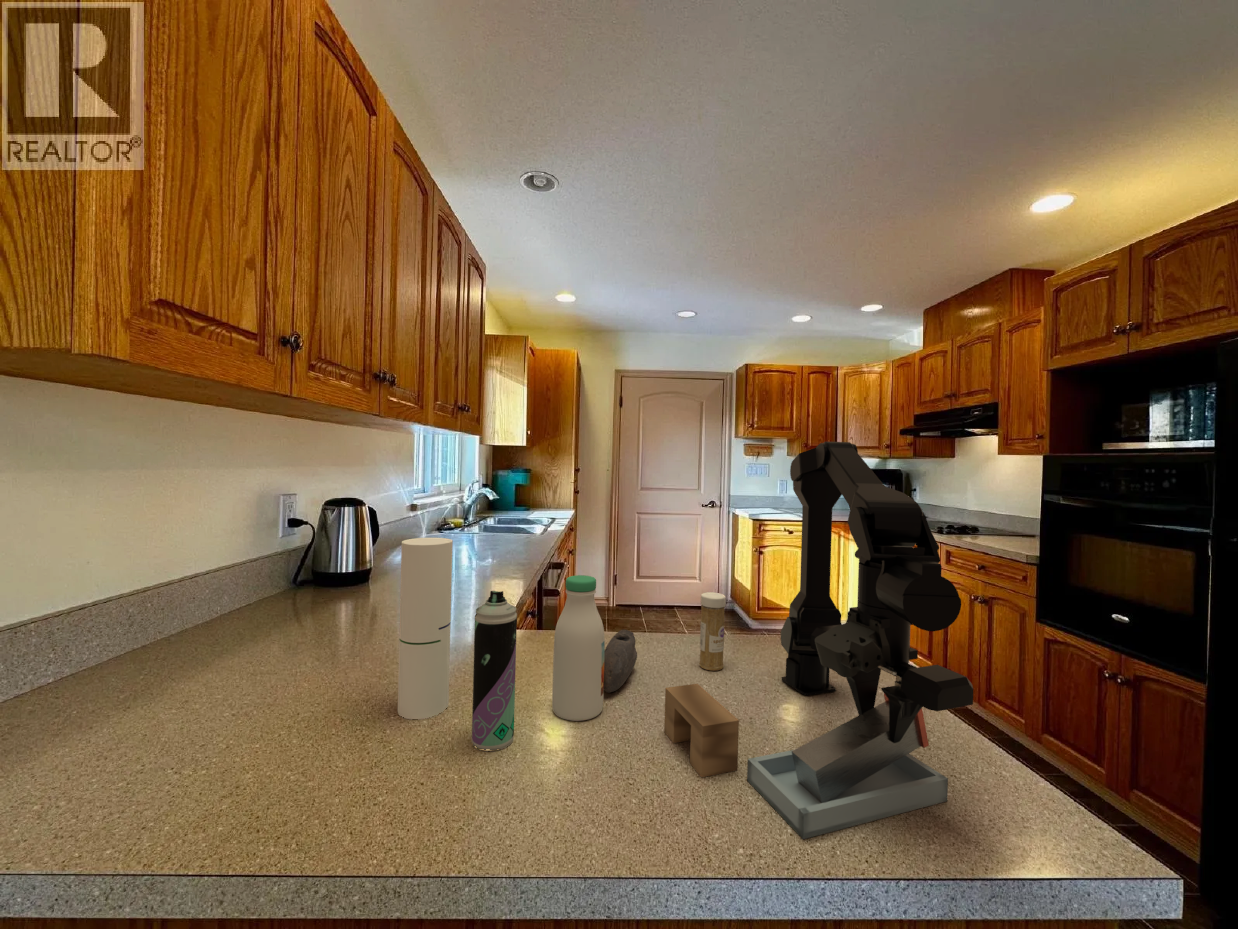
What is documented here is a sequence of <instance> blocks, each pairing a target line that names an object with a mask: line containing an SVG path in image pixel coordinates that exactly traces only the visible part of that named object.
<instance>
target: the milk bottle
mask: <svg viewBox="0 0 1238 929" xmlns="http://www.w3.org/2000/svg"><path fill="white" fill-rule="evenodd" d="M596 588H597V579H596V577H594V576H591V575H580V574H578V575H577V574H576V575H571V576H568V577H567V578H566V579H565V593H566V600H565V603H564V607H563V609H562V611H561V614H560V616H559V617H558V620H557V623H556V625H555V630H554V635H553V636H554V638H553V639H554V640H553V658H552V659H553V660H552V661H553V662H552V692H551V693H552V695H551V708H552V711H553V713H554V714H555V715H556V716H557V717H559V718H560V719H564V720H568V721H573V722H574V721H575V722H577V721H578V722H581V721H586V720H587V721H588V720H592V719H594V718H595V717H597V716H599V715H600V714H601V712H602V711H603V708H604V691H605V690H604V652H605V649H606V647H605V641H606V640H605V628H604V624H603V620H602V617H601V615H600V613H599V610H598V607H597V604H596V600H595V594H597V591H596V590H597V589H596Z"/></svg>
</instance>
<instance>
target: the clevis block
mask: <svg viewBox="0 0 1238 929" xmlns="http://www.w3.org/2000/svg"><path fill="white" fill-rule="evenodd" d="M664 694H665V699H664V726H663V728H664V729H663V730H664V731H663V732H664V733H665V734H666V736H667V737H668V738H669V740H670V741H671V742H672V744H677V743H682V742H683V743H684V742H687V741H690V747H689V748H690V749H689V750H690V752H689V753H690V754H689V755H690V756H689V764H690V765H691V766H692V768H693V769H694V770H695V771H696V773H697V774H698V775H699V776H700V777H701V778H705V777H710V776H715V775H722V774H725V773H726V774H727V773H730V772H736V771H738V768H739V767H738V766H739V765H738V764H739V762H738V760H739V731H740V730H739V728H740V727H739V726H740V720H739V719H738V718H737V717H736V716H735V715H734V714H732V713H731V712H730V711H729V710H728V709H727V708H726V707H725V706H723V705H722V704H721V703H720V702H719V701H718V700H717V699H715V698H714V697H713V696H712V695H711V694H710V693H709V692H708V691H707V690H705V689H704V688H703V687H702V686H701V685H700V684H698V683H693V684H683V685H676V686H669V687H665V693H664Z"/></svg>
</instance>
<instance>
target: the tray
mask: <svg viewBox="0 0 1238 929" xmlns="http://www.w3.org/2000/svg"><path fill="white" fill-rule="evenodd" d="M793 750H794V749H792V750H786V751H781V752H777V753H776V752H775V753H771V754H765V755H760V756H756V757H755V756H754V757H750V758H747V771H746V774H747V776H746V781H747V782H748V784H750V785H751V786H752V787H753V788H754V789H755V790H756V792H757V793H759V795H760V796H761V797H762V798H763V799H764V800H765V801H766V802H767V803H768V804H769V806H771V808H773V809H774V811H775V812H776V813H777V814H778V815H779V816H780V817H781V818H782V819H783V821H785V822H786V823H787V824H788V825H789V826H790V827H791V829H793V831H794V832H795V833H796V834H797V835H798V836H799V837H800V838H801V839H802V840H807V839H810V838H814V837H817V836H822V835H825V834H829V833H832V832H836V831H840V830H843V829H847V828H850V827H855V826H858V825H859V826H860V825H862V824H866V823H869V822H874V821H878V820H881V819H885V818H888V817H893V816H896V815H901V814H904V813H907V812H911V811H916V810H918V809H922V808H926V807H930V806H934V805H938V804H941V803H945V802H946V803H947V802H948V792H949V791H948V789H949V788H948V787H949V778H948V777H947V776H945V775H943V774H942V773H940V772H939V771H937V770H935V769H934V768H933V767H930V766H929V765H928V764H926V763H924V762H923V761H921V760H920V759H918V758H917V757H915V756H913V755H912V754H911V753H909V754H907V755H906V756H904V757H902V758H900V759H899V760H897V761H895V762H894V763H892V764H890V765H888V766H887V767H885V768H883V769H882V770H880V771H878V772H876V773H875V774H873V775H871V776H870V777H868V778H866V779H864V780H863V781H861V782H859V783H858V784H856V785H854V786H852V787H851V788H849V789H847V790H846V791H844V792H842V793H840V794H839V795H837V796H835V797H834V798H832V799H830V800H828V801H827V802H825V803H820V802H819V801H818V800H817V799H816V798H815V797H814V796H813V795H812V794H810V793H809V792H808V791H807V790H806V789H805V788H804V787H803V786H802V785H801V784H799V783H798V779H797V775H796V770H795V765H794V761H793V756H792V751H793Z"/></svg>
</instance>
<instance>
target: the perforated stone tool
mask: <svg viewBox="0 0 1238 929" xmlns="http://www.w3.org/2000/svg"><path fill="white" fill-rule="evenodd" d="M637 658H638V652H637V649H636V638H635V634H634V632H633V631H631V630H628V629H620V630H619V631H618V632H617V633H615V634H614V635H613V636H612V637H611V639H609V642H608V643H607V645H606V647H605V652H604V691H605V693H613V692H616V691H617V690H619V689H620V688H621V687H622V686H623V685H624V683H625V682H626V681H627V680H628V678H629V677H630V675H631V673H632V671H633V670H634V668H635V665H636V662H637Z"/></svg>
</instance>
